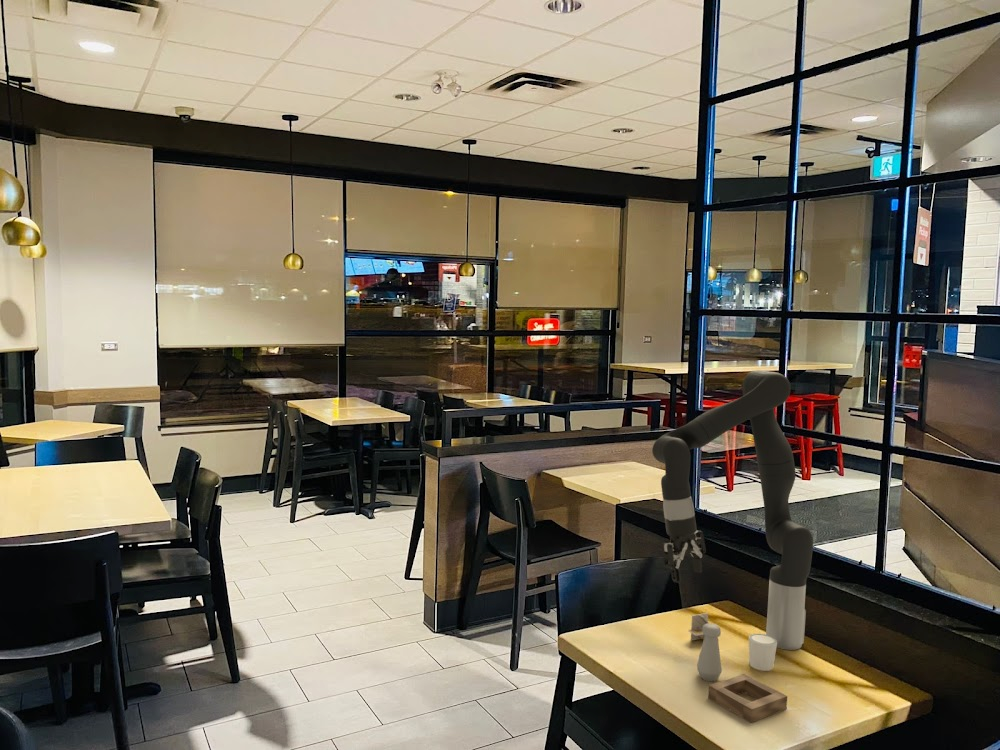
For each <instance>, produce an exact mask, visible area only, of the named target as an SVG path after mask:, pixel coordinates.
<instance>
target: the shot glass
mask: <svg viewBox="0 0 1000 750" xmlns="http://www.w3.org/2000/svg"><path fill="white" fill-rule="evenodd" d="M777 648H778V647H777V640H776V639H775V638H773V637H771V636H768V635H766V633H752V634H750V635H749V636H748V655H749V656H748V657H749V666H750V667H751V668H752V669H755V670H758V671H763V672H766V671H767V672H768V671H772V670H773V669H774V665H775V658H776V652H777Z"/></svg>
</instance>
